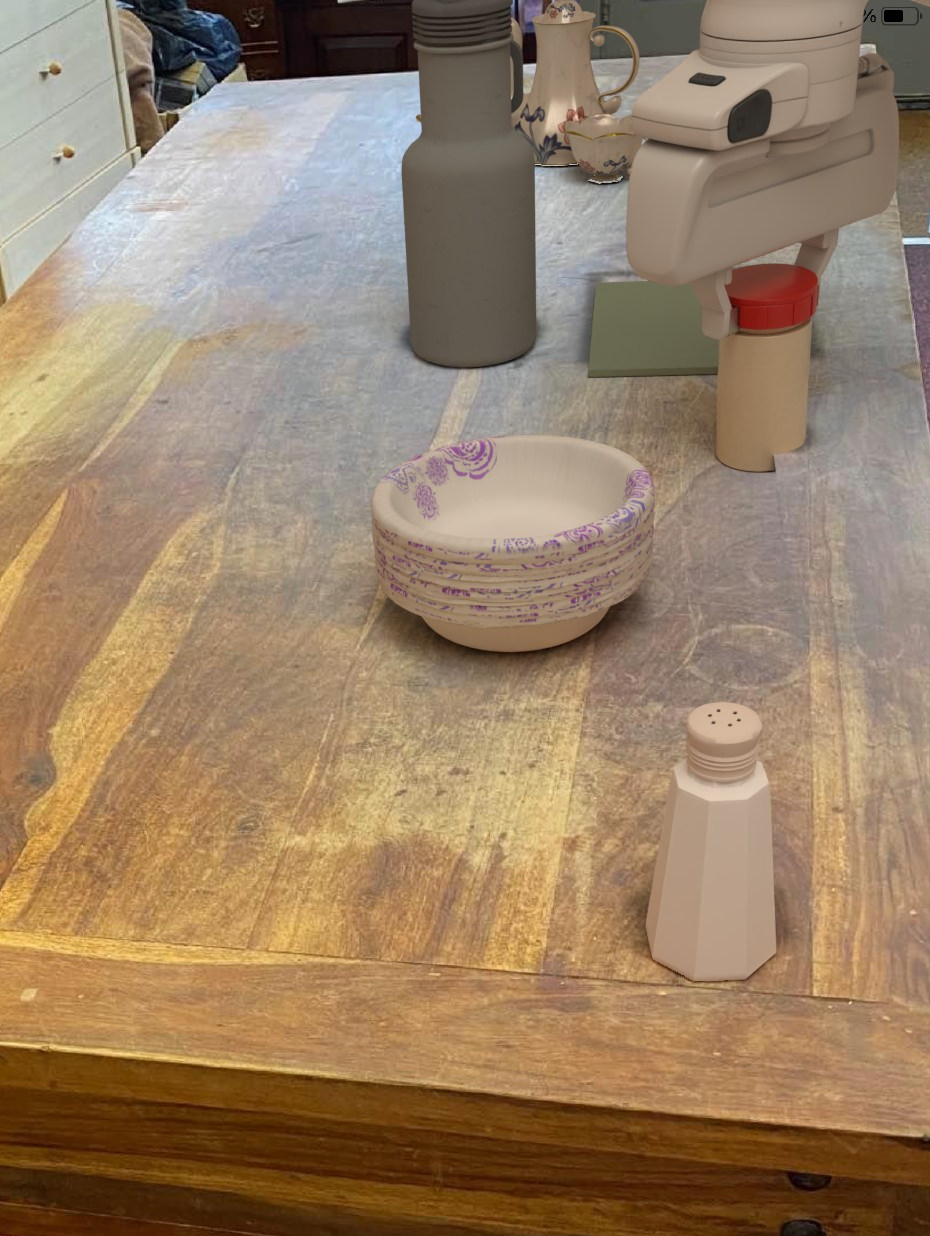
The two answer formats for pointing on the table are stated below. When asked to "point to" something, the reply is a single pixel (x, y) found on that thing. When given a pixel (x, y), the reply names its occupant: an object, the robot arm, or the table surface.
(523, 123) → the chinaware
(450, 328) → the water bottle
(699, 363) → the mat
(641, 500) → the paper bowls
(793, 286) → the lid
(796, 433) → the jar
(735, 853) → the pepper shaker
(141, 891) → the table surface
